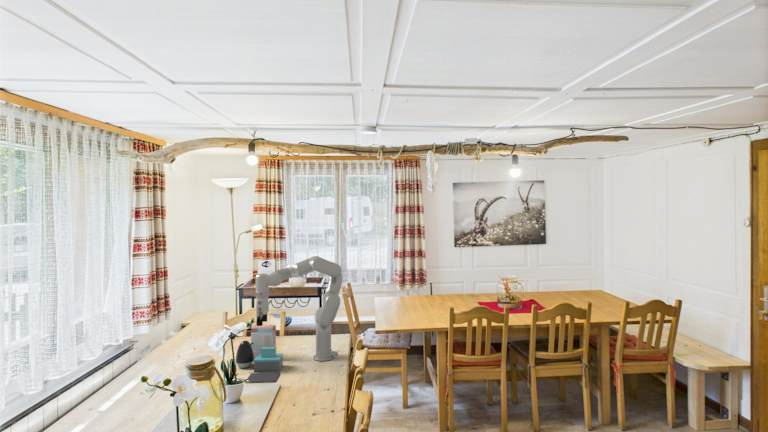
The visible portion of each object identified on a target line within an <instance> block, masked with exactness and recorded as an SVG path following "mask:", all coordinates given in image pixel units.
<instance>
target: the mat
mask: <svg viewBox="0 0 768 432" xmlns="http://www.w3.org/2000/svg"><path fill="white" fill-rule="evenodd" d="M280 374H281V371H279V372H262V373H254V372H252V373H250V374H249V375H248V377H247V378H246V380H249V381H250V382H252V383H251V384H256V383H257V384H261V383H262V384H265V383H276V382H277V380H278V378H279V376H280ZM245 384H248V383H247V382H246V383H245Z"/></svg>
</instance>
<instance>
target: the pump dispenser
mask: <svg viewBox="0 0 768 432" xmlns="http://www.w3.org/2000/svg"><path fill="white" fill-rule="evenodd" d="M252 344H253V342H252V343H251V342H250V341H249V340H247V339H246V340H245V339H244V340H243V341H241V342H240V343H239V345H238V347H237V350H236V351H237V352H236V355H235V363H236V364H235V365H237V367H238V368H241V369H247V368H249V367H251V366H252V364H254V362H253V360H254V354H253V350H252V347H251V345H252Z"/></svg>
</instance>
